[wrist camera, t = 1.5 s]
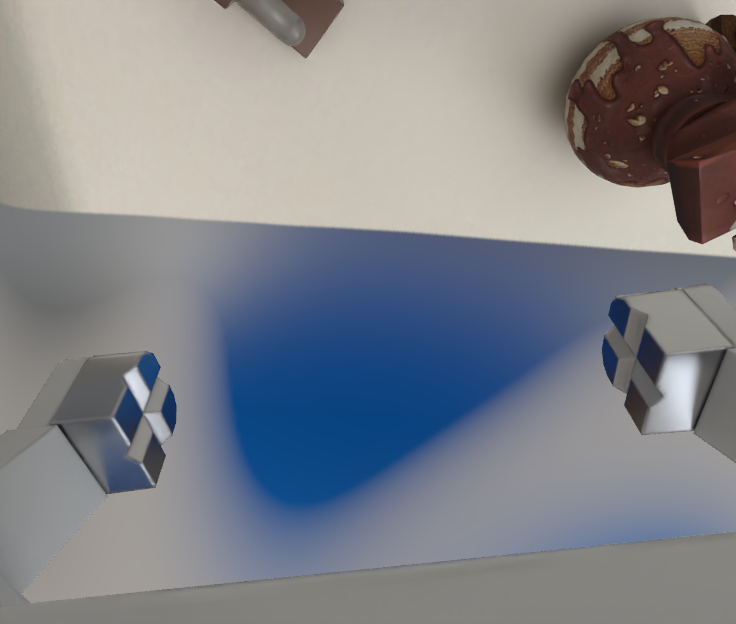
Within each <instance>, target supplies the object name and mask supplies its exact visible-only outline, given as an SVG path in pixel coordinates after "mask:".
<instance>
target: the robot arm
mask: <svg viewBox="0 0 736 624" xmlns="http://www.w3.org/2000/svg"><path fill="white" fill-rule="evenodd" d="M609 317H610V318H611V320H612V322H613V323H614V326H613V327H612V328H611V329H610V330H609V331H608V332H607V333H606V334H605V335H604V340H603V346H602V355H603V364H604V367H605V370H606V373H607V376H608V378H609V380H610V381H611V383H612V385H613V386H614V387H616V388H617V389H619V390H621V391H622V392H624V393H626V394H627V396H626V400H625V404H624V406H625V408H626V409H627V411H628V413H629V414H630V416H631V418H632V419H633V421H634V423H635V425H636V426H637V428H638V430H639V431H640V433H641V434H642V435H649V434H661V433H673V432H686V431H694V434H695V435H697V436H698V437H700V438H701V439H702V440H704V441H705V442H707V443H708V444H709V445H711V446H712V447H714V448H715V449H716V450H718V451H719V452H721V453H722V454H724V455H725V456H727V457H728V458H729V459H731V460H732V461H734V462H735V463H736V309H735V307H734V306H733V305H732V304H731V303H730V302H728V300H726V299H725V298H724V297H723V296H722V295H721V294H720V293H719V292H718V291H717V290H716V289H715V288H714V287H712V286H710V285H707V284H702V285H696V286H688V287H681V288H675V289H674V290H664V291H656V292H648V293H640V294H631V295H624V296H616V297H615V298H614V300H613V301H612V303H611V306H610V311H609ZM159 370H160V365H159V364H158V361H157V359H156V358H155V356H154V354H153V353H150V352H148V351H141V352H130V353H119V354H109V355H99V356H92V357H82V358H72V359H65V360H63V361H61V362H60V363H58V364H57V366H56V367H55V369H54V370H53V372H52V373H51V375H50V377H49V378H48V380H47V382H46V383H45V384H44V386H43V388H42V389H41V391H40V393H39V394H38V396H37V397H36V399H35V400H34V402H33V404H32V405H31V407H30V408H29V410H28V412H27V413H26V415H25V417H24V418H23V420H22V421H21V423H20V424H19V426H18V427H17V429H15V430H7V431H6V432H4V433H3V434H1V435H0V624H736V532H726V533H716V534H706V535H696V536H687V537H677V538H667V539H658V540H648V541H637V542H628V543H618V544H609V545H599V546H589V547H579V548H569V549H559V550H550V551H541V552H530V553H521V554H511V555H501V556H491V557H482V558H471V559H461V560H451V561H442V562H432V563H422V564H412V565H402V566H392V567H382V568H373V569H362V570H353V571H343V572H334V573H323V574H313V575H303V576H293V577H283V578H273V579H264V580H253V581H244V582H234V583H224V584H214V585H204V586H194V587H184V588H175V589H164V590H155V591H145V592H135V593H125V594H116V595H106V596H96V597H86V598H75V599H67V600H56V601H46V602H36V603H31V602H30V601H28V600H27V599H26V598H25V597H24V596H23V595H22V593H23V591H24V590H25V589H26V588H27V587H28V586H29V585H30V584H31V582H32V581H33V580H34V579H35V578H36V577H37V576H38V575H39V573H40V572H41V571H42V570H43V569H44V568H45V567H46V566H47V564H48V563H49V562H50V561H51V560H52V559H53V558H54V557H55V555H56V554H57V553H58V552H59V551H60V550H61V549H62V547H63V546H64V545H65V544H66V543H67V542H68V541H69V540H70V538H71V537H72V536H73V535H74V534H75V533H76V532H77V531H78V530H79V528H80V527H81V526H82V525H83V524H84V523H85V522H86V521H87V519H88V518H89V517H90V516H91V515H92V514H93V513H94V512H95V510H96V509H97V508H98V507H99V506H100V505H101V504H102V503H103V501H104V500H105V499H106V498H107V494H111V493H119V492H126V491H134V490H141V489H149V488H155V487H156V484H157V481H158V478H159V475H160V472H161V469H162V466H163V463H164V460H165V456H166V455H165V453H164V452H163V450H162V448H161V445H162V444H164V443H165V442H166V440H168V439H169V438H170V437H171V436H172V434H173V431H174V428H175V424H176V402H175V398H174V394H173V392H172V390H171V388H170V385H169V384H167V383H165V382H164V381H162V380H160V379H159V378H157V375H158V373H159Z"/></svg>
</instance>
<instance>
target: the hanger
mask: <svg viewBox="0 0 736 624" xmlns="http://www.w3.org/2000/svg"><path fill="white" fill-rule="evenodd" d="M215 1H216V2H217V3H218V4H220V5H221V6H222V7H223V8H224V9H226V8H228V7H229V6H230V5H231V4H232V3H233V2H236V3H237V4H238V5H240V6H241V7H242V8H243V9H244V10H245V11H247V12H248V13H249V14H250V15H251V16H252V17H254V18H255V19H256V20H257V21H258V22H260V23H261V24H262V25H263V26H264V27H265V28H267V29H268V30H269V31H270V32H271V33H272V34H274V35H275V36H276V37H277V38H278V39H279V40H281V41H282V42H283V43H284V44H286V45H289V46H292V47H293V48H294V49H295V50H296V51H298V52H299V53H300V54H301V55H302V56H303V57H305V58H307V57H308V55H309V54H310V53H311V51H312V50H313V48H314V47H315V46H316V44H317V43H318V41H319V40H320V39H321V37H322V36H323V34H324V33H325V32H326V30H327V29H328V27H329V26H330V25H331V23H332V22H333V20H334V19H335V17H336V16H337V15H338V13H339V12H340V10H341V9H342V8H343V6H344V1H343V0H215Z"/></svg>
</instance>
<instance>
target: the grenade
mask: <svg viewBox="0 0 736 624" xmlns="http://www.w3.org/2000/svg"><path fill="white" fill-rule="evenodd" d="M564 121H565V128H566V134H567V137H568V140H569V142H570V144H571V146H572V148H573V151H574V153H575V154H576V156H577V157H578V158H579V160H580V161H581V162H582V163H583V164H584V165H585V166H586V167H587V168H588V169H589V170H590V171H592V172H593V173H594V174H596V175H597V176H599V177H601V178H603V179H606V180H608V181H610V182H612V183H615V184H618V185H623V186H630V187H646V186H655V185H662V184H665V183H669V182H670V183H671V189H672V194H673V200H674V205H675V211H676V216H677V221H678V223H679V224H680V226H681V228H682V229H683V231H684V233H685V234H686V236H687V237H688V239H689V240H691V241H694V242H697V243H700V244H704V243H706V242H708V241H710V240H712V239H714V238H716V237H719V236H721V235H723V234H725V233H727V232H729V231H731V230H733V229H735V228H736V16H734V15H719V16H717V17H715V18H713V19H711V20H709V21H708V22H707V23H706V24H705V25H704V24H702V23H700V22H697V21H692V20H688V19H684V18H678V17H664V18H654V19H647V20H642V21H639V22H636V23H634V24H631V25H629V26H626V27H623V28H621V29H620V30H618V31H617V32H615V33H614V34H612V35H611V36H609V37H608V38H606V39H605V40H603V41H602V42H601V43H600V44H599V45H598V46H597V47H596V48H595V49H594V50H593V51H592V52H591V53H590V54H589V55H588V56H587V57H586V58H585V60H584V61H583V63H582V64H581V66H580V67H579V69H578V70H577V72H576V73H575V75H574V77H573V79H572V82H571V85H570V87H569V90H568V93H567V95H566V101H565V109H564ZM732 240H733V249H734V250H735V251H736V235H735V236H733V237H732Z"/></svg>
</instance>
